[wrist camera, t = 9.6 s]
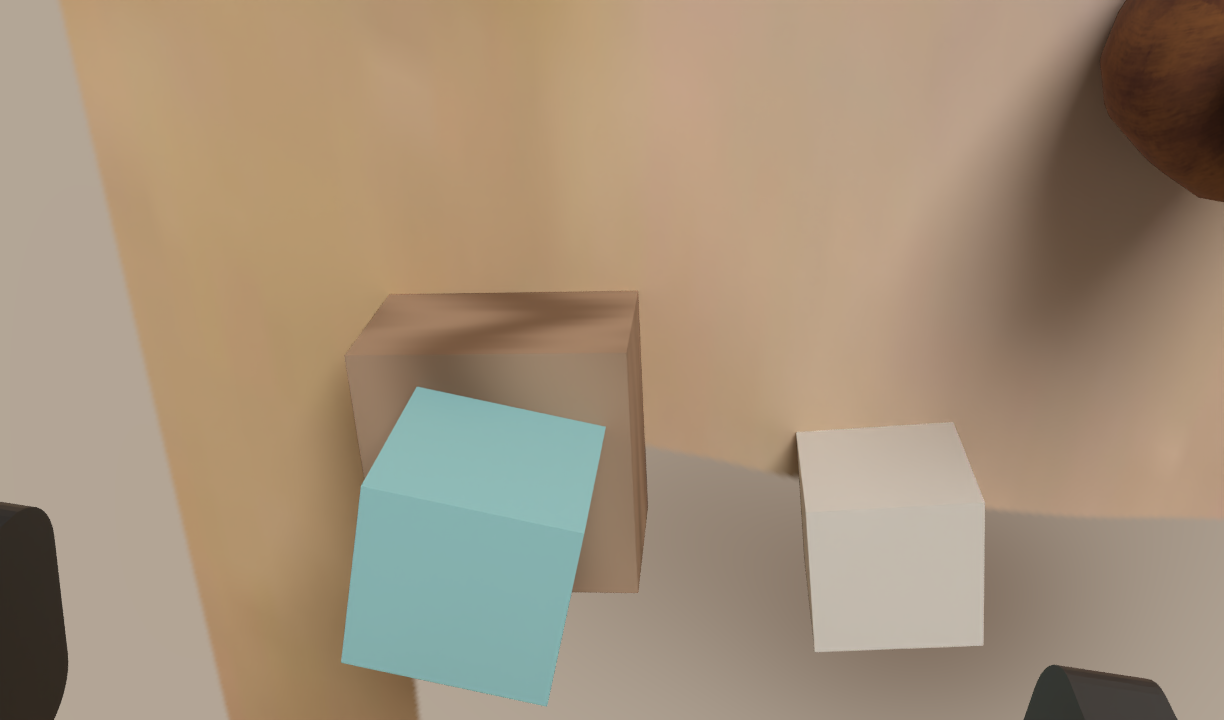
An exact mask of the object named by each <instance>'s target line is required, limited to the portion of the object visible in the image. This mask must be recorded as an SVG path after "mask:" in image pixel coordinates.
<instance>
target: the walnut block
mask: <svg viewBox="0 0 1224 720" xmlns="http://www.w3.org/2000/svg"><path fill="white" fill-rule="evenodd" d="M345 362H346V368H347V374H348V380H349V387H350V393H351V399H352V406H353V412H354V418H355V424H356V431H357V437H358V443H359V449H360V456H361V462H362V468H363V474H364V480H365V478H366V476H367V475H368V473H369V471H370V469H371V467H372V466H373V464H374V462H375V460H376V459H377V457H378V455H379V453H380V451H381V450H382V448H383V446H384V444H385V442H386V441H387V439H388V437H389V435H390V434H391V432H392V430H393V428H394V426H395V425H396V423H397V421H398V419H399V417H400V416H401V414H402V412H403V410H404V408H405V407H406V405H407V403H408V401H409V400H410V398H411V396H412V394H413V392H414V391H415V389H416V387H421V388H426V389H431V390H435V391H440V392H445V393H450V394H454V395H459V396H464V397H468V398H473V399H478V400H482V401H487V402H492V403H497V404H501V405H506V406H511V407H515V408H520V409H525V410H529V411H534V412H539V413H544V414H548V415H553V416H558V417H562V418H567V419H572V420H577V421H581V422H586V423H591V424H595V425H600V426H605V427H606V429H605V434H604V439H603V444H602V449H601V454H600V459H599V464H598V468H597V473H596V478H595V483H594V488H593V493H592V498H591V503H590V508H589V513H588V518H587V523H586V528H585V533H584V537H583V542H582V547H581V551H580V556H579V561H578V565H577V570H576V574H575V579H574V584H573V588H572V592H606V593H608V592H609V593H612V592H613V593H614V592H615V593H638V590H639V581H640V572H641V563H642V554H643V546H644V537H645V528H646V519H647V510H648V494H647V471H646V448H645V438H644V415H643V392H642V369H641V346H640V323H639V300H638V291H593V292H525V293H457V294H389V296H388V297H387V298H386V300H385V301H384V302H383V304H382V305H381V306H380V308H379V309H378V311H377V312H376V313H375V315H374V316H373V317H372V319H371V320H370V321H369V323H368V324H367V326H366V327H365V328H364V330H363V331H362V332H361V334H360V335H359V336H358V338H357V339H356V341H355V342H354V343H353V345H352V346H351V347H350V349H349V350H348V351H347V353H346V354H345Z"/></svg>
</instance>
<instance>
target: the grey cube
mask: <svg viewBox="0 0 1224 720" xmlns="http://www.w3.org/2000/svg"><path fill="white" fill-rule="evenodd" d="M796 437H797V452H798V468H799V484H800V499H801V515H802V529H803V546H804V560H805V568H806V578H807V587H808V596H809V604H810V614H811V623H812V632H813V641H814V649H815V652H834V651H859V650H883V649H907V648H932V647H956V646H981V645H983V633H984V632H983V631H984V624H983V623H984V540H985V539H984V538H985V535H984V534H985V501H984V499H983V496H982V494H981V491H980V489H979V486H978V484H977V481H976V479H975V476H974V473H973V471H972V468H971V466H970V463H969V461H968V458H967V456H966V453H965V450H964V448H963V445H962V443H961V440H960V438H959V435H958V433H957V430H956V427H955V425H954V422H944V423H929V424H914V425H899V426H883V427H868V428H853V429H838V430H822V431H807V432H796Z"/></svg>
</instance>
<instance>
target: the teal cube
mask: <svg viewBox="0 0 1224 720" xmlns="http://www.w3.org/2000/svg"><path fill="white" fill-rule="evenodd" d="M605 429H606V427H605V426H600V425H595V424H591V423H586V422H581V421H577V420H572V419H567V418H562V417H558V416H553V415H548V414H544V413H539V412H534V411H529V410H525V409H520V408H515V407H511V406H506V405H501V404H497V403H492V402H487V401H482V400H478V399H473V398H468V397H464V396H459V395H454V394H450V393H445V392H440V391H435V390H431V389H426V388H421V387H416V389H415V391H414V392H413V394H412V396H411V398H410V400H409V401H408V403H407V405H406V407H405V408H404V410H403V412H402V414H401V416H400V417H399V419H398V421H397V423H396V425H395V426H394V428H393V430H392V432H391V434H390V435H389V437H388V439H387V441H386V442H385V444H384V446H383V448H382V450H381V451H380V453H379V455H378V457H377V459H376V460H375V462H374V464H373V466H372V467H371V469H370V471H369V473H368V475H367V476H366V478H365V480H364V482H363V484H362V485H361V491H360V500H359V508H358V517H357V526H356V535H355V544H354V553H353V562H352V571H351V580H350V589H349V597H348V606H347V615H346V624H345V633H344V642H343V651H342V660H341V663H345V664H350V665H354V666H359V667H364V668H369V669H373V670H378V671H383V672H387V673H392V674H397V675H401V676H406V677H411V678H415V679H420V680H425V681H430V682H435V683H439V684H444V685H448V686H453V687H458V688H463V689H467V690H472V691H476V692H481V693H486V694H491V695H495V696H500V697H505V698H509V699H514V700H519V701H524V702H529V703H533V704H538V705H542V706H547V704H548V700H549V695H550V690H551V686H552V681H553V676H554V672H555V667H556V662H557V657H558V653H559V648H560V644H561V639H562V635H563V630H564V625H565V620H566V616H567V611H568V607H569V602H570V598H571V593H572V588H573V584H574V579H575V574H576V570H577V565H578V561H579V556H580V551H581V547H582V542H583V537H584V533H585V528H586V523H587V518H588V513H589V508H590V503H591V498H592V493H593V488H594V483H595V478H596V473H597V468H598V464H599V459H600V454H601V449H602V444H603V439H604V434H605Z"/></svg>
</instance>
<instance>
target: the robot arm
mask: <svg viewBox="0 0 1224 720" xmlns="http://www.w3.org/2000/svg"><path fill="white" fill-rule="evenodd" d="M67 673H68V652H67V643H66V635H65V626H64V617H63V609H62V601H61V591H60V583H59V573H58V565H57V556H56V548H55V539H54V532H53V527H52V525H51V521H50V519H49V517H48V516H47V514H46V513H45V512H44V511H43V510H41V509H39V508H37V507H31V506H24V505H17V504H11V503H4V502H0V720H54V718H55V716H56V714H57V711H58V709H59V706H60V703H61V700H62V697H63V694H64V689H65V685H66V680H67ZM1024 720H1177V718H1176V716H1175V714H1174V712H1173V710H1172V708H1171V706H1170V704H1169V702H1168V700H1167V698H1166V696H1165V694H1164V693H1163V691H1162V689H1161V688H1160V687H1159V686H1158V685H1157V683H1155V682H1154V681H1152V680H1149V679H1144V678H1138V677H1131V676H1124V675H1118V674H1111V673H1105V672H1098V671H1092V670H1085V669H1078V668H1072V667H1065V666H1059V665H1051V666H1049V667H1047V668H1046V669H1045V670H1044V671H1043V673H1042V674H1041V675H1040V677H1039V679H1038V681H1037V684H1036V686H1035V688H1034V692H1033V694H1032V697H1031V700H1030V703H1029V706H1028V709H1027V712H1026V715H1025V718H1024Z"/></svg>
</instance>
